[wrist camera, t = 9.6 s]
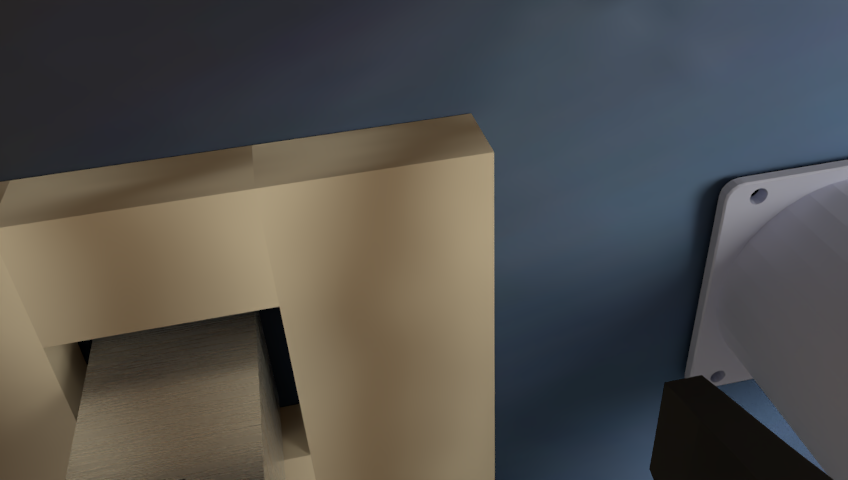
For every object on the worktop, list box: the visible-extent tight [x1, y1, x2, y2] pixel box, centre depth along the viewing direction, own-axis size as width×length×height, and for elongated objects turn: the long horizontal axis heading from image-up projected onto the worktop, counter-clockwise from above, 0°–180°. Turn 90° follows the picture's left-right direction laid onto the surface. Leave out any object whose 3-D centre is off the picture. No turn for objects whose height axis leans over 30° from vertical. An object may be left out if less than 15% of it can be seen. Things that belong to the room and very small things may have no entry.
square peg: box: [65, 310, 286, 480], centre depth 19 cm, size 4×4×7 cm
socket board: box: [0, 114, 495, 480], centre depth 21 cm, size 16×12×2 cm
